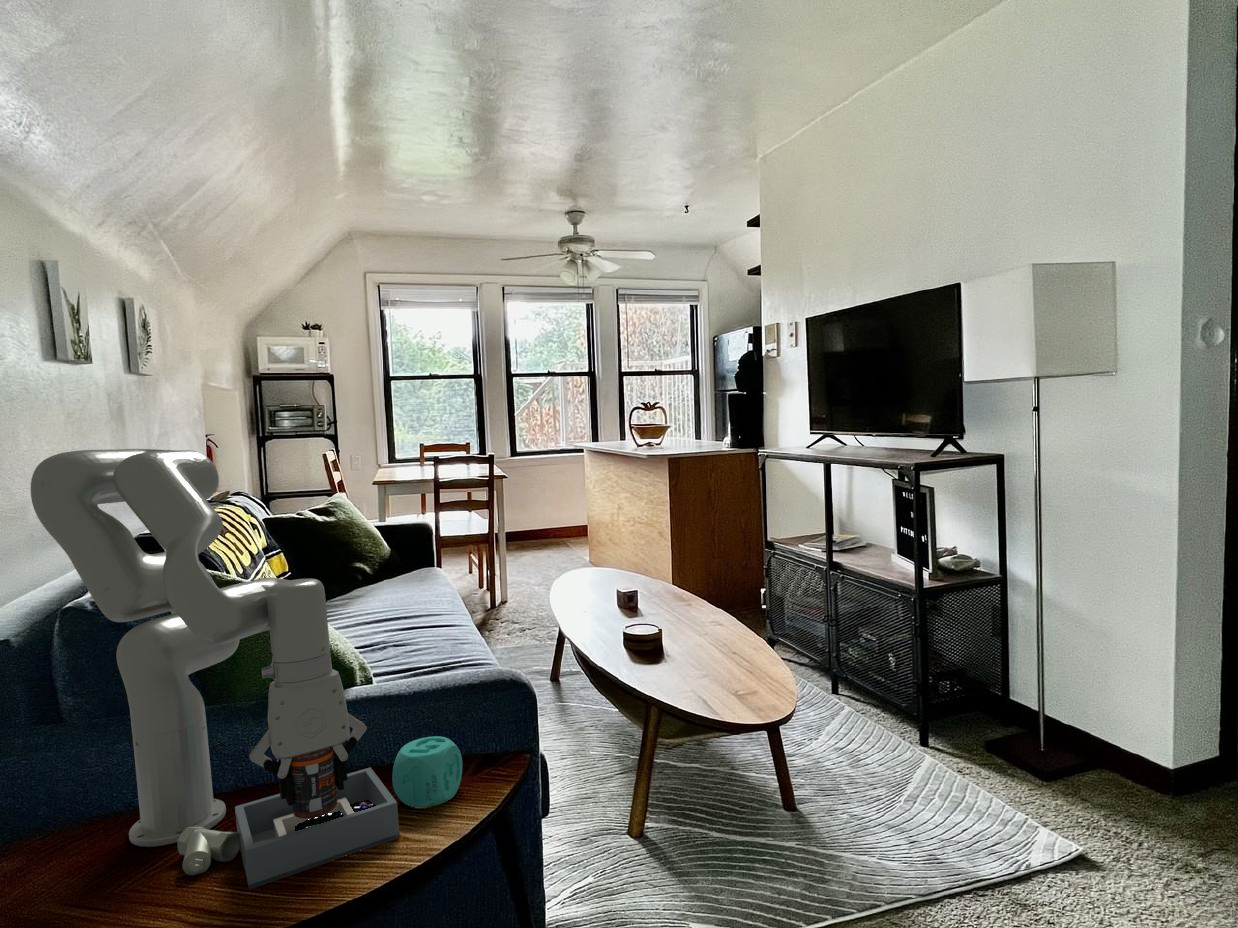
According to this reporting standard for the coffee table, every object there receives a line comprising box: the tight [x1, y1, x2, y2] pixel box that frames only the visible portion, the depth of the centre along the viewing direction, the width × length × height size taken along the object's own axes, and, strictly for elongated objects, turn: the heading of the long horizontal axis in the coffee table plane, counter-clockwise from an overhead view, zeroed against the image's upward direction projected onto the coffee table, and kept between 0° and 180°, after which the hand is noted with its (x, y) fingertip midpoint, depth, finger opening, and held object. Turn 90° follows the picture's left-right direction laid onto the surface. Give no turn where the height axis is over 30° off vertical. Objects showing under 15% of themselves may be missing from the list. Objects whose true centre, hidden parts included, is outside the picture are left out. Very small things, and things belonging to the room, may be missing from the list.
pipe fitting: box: [176, 827, 240, 876], centre depth 101 cm, size 8×4×7 cm
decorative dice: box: [391, 735, 463, 808], centre depth 115 cm, size 8×8×8 cm
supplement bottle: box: [288, 747, 337, 819], centre depth 105 cm, size 6×6×11 cm
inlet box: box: [234, 766, 401, 891], centre depth 104 cm, size 15×19×5 cm
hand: (314, 792), depth 104 cm, fingers closed on supplement bottle, 6 cm apart
